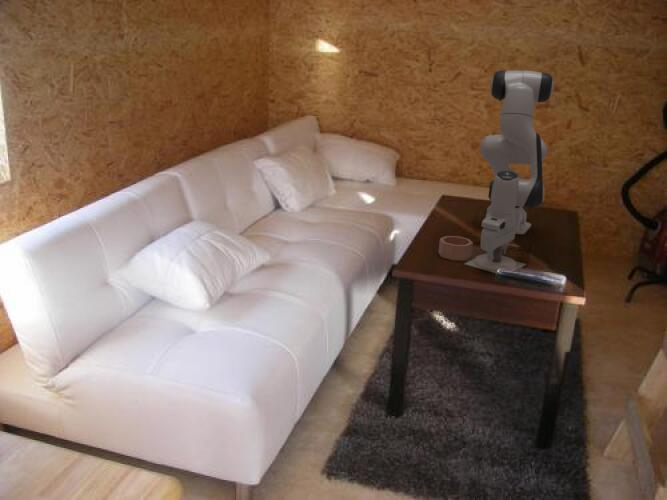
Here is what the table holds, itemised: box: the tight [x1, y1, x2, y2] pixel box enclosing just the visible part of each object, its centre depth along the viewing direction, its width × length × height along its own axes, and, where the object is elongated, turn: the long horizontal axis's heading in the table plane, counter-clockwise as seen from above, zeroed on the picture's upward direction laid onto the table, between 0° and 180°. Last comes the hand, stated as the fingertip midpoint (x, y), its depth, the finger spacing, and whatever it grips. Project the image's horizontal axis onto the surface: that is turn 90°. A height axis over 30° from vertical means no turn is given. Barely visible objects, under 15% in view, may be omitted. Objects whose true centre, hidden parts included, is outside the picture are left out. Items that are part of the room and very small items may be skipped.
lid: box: [474, 248, 517, 271], centre depth 226 cm, size 14×14×5 cm
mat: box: [464, 252, 527, 274], centre depth 227 cm, size 16×16×1 cm
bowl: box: [437, 235, 474, 261], centre depth 233 cm, size 11×11×6 cm
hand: (496, 257), depth 226 cm, fingers open, 8 cm apart
